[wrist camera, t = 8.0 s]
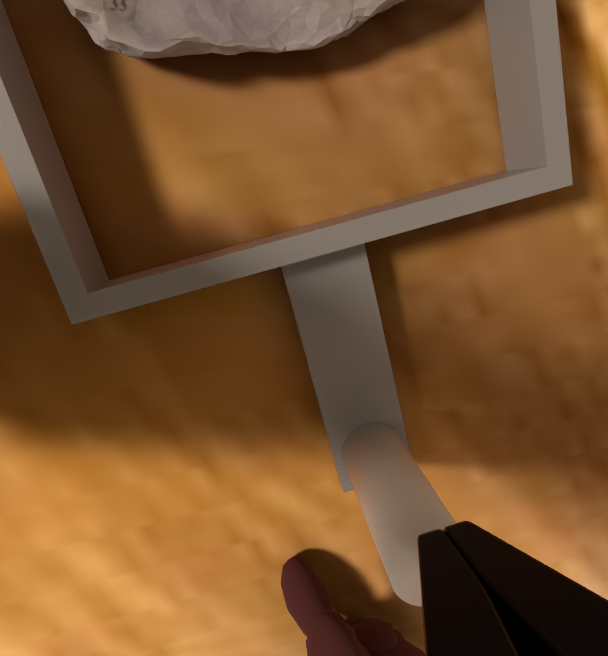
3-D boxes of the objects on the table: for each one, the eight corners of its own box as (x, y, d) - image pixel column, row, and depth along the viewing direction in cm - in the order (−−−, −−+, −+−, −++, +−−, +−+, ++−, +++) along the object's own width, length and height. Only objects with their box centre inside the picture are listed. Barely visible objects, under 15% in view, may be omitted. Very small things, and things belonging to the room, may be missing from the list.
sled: (555, 412, 21) (718, 523, 14) (182, 526, 20) (149, 706, 13) (458, -416, 13) (702, -1111, 6) (-143, -289, 13) (-643, -925, 5)
